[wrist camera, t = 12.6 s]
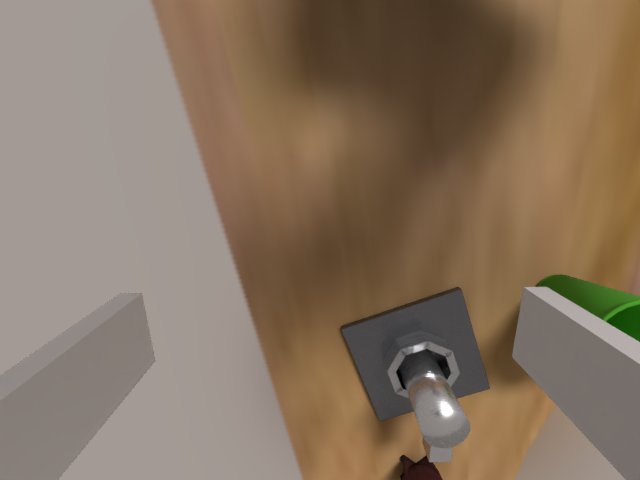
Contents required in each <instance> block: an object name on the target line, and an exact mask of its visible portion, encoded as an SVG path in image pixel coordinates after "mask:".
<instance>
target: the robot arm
mask: <svg viewBox="0 0 640 480" xmlns="http://www.w3.org/2000/svg"><path fill="white" fill-rule="evenodd" d="M512 358H513V359H514V360H515V361H516V362H517V363H518V364H519V365H520V366H521V367H522V368H523V369H524V371H525V372H526V373H527V374H528V375H529V376H530V377H531V378H532V379H533V380H534V381H535V382H536V383H537V385H538V386H539V387H540V388H541V389H542V390H543V391H544V392H545V393H546V394H547V395H548V396H549V397H550V399H551V400H552V401H553V402H554V403H555V404H556V405H557V406H558V407H559V408H560V409H561V410H562V411H563V413H564V414H565V415H566V416H567V417H568V418H569V419H570V420H571V421H572V422H573V423H574V424H575V425H576V427H578V429H579V430H580V431H581V432H582V433H583V434H584V435H585V436H586V437H587V438H588V439H589V441H590V442H592V444H593V445H594V446H595V447H596V448H597V449H598V450H599V451H600V452H601V453H602V455H603V456H604V457H606V459H607V460H608V461H609V462H610V463H611V464H612V465H613V466H614V467H615V469H617V471H618V472H619V473H620V474H621V475H622V476H623V477H624V478H625V479H626V480H640V342H639V341H637V340H635V339H634V338H632V337H630V336H629V335H627V334H625V333H624V332H622V331H620V330H618V329H617V328H615V327H613V326H612V325H610V324H608V323H607V322H605V321H603V320H602V319H600V318H598V317H597V316H595V315H593V314H592V313H590V312H588V311H586V310H585V309H583V308H581V307H580V306H578V305H576V304H575V303H573V302H571V301H570V300H568V299H566V298H565V297H563V296H561V295H560V294H558V293H556V292H554V291H553V290H551V289H549V288H548V287H524V288H523V294H522V300H521V306H520V312H519V318H518V323H517V329H516V335H515V341H514V347H513V353H512ZM154 362H155V357H154V352H153V348H152V343H151V337H150V333H149V327H148V323H147V317H146V312H145V307H144V302H143V296H142V293H127V294H126V293H124V294H119V295H117V296H116V297H114V298H113V299H111V300H110V301H108V302H107V303H106V304H104V305H103V306H101V307H100V308H98V309H97V310H95V311H94V312H92V313H91V314H89V315H88V316H86V317H85V318H83V319H82V320H81V321H79V322H78V323H76V324H75V325H73V326H72V327H70V328H69V329H67V330H66V331H65V332H63V333H62V334H60V335H59V336H57V337H56V338H54V339H53V340H51V341H50V342H48V343H47V344H45V345H44V346H42V347H41V348H39V349H38V350H36V351H35V352H34V353H32V354H31V355H29V356H28V357H26V358H25V359H23V360H22V361H20V362H19V363H17V364H16V365H14V366H13V367H12V368H10V369H9V370H7V371H6V372H4V373H3V374H1V375H0V480H58V479H59V478H60V477H61V476H62V474H63V473H64V472H65V471H66V469H67V468H68V467H69V466H70V464H71V463H72V462H73V461H74V460H75V458H76V457H77V456H78V455H79V454H80V452H81V451H82V450H83V449H84V447H85V446H86V445H87V444H88V442H89V441H90V440H91V439H92V438H93V436H94V435H95V434H96V433H97V432H98V430H99V429H100V428H101V427H102V425H103V424H104V423H105V422H106V421H107V419H108V418H109V417H110V415H111V414H112V413H113V412H114V411H115V410H116V408H117V407H118V406H119V405H120V403H121V402H122V401H123V400H124V399H125V397H126V396H127V395H128V394H129V392H130V391H131V390H132V389H133V388H134V386H135V385H136V384H137V382H138V381H139V380H140V379H141V378H142V377H143V375H144V374H145V373H146V371H147V370H148V369H149V368H150V367H151V366H152V364H153V363H154Z"/></svg>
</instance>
